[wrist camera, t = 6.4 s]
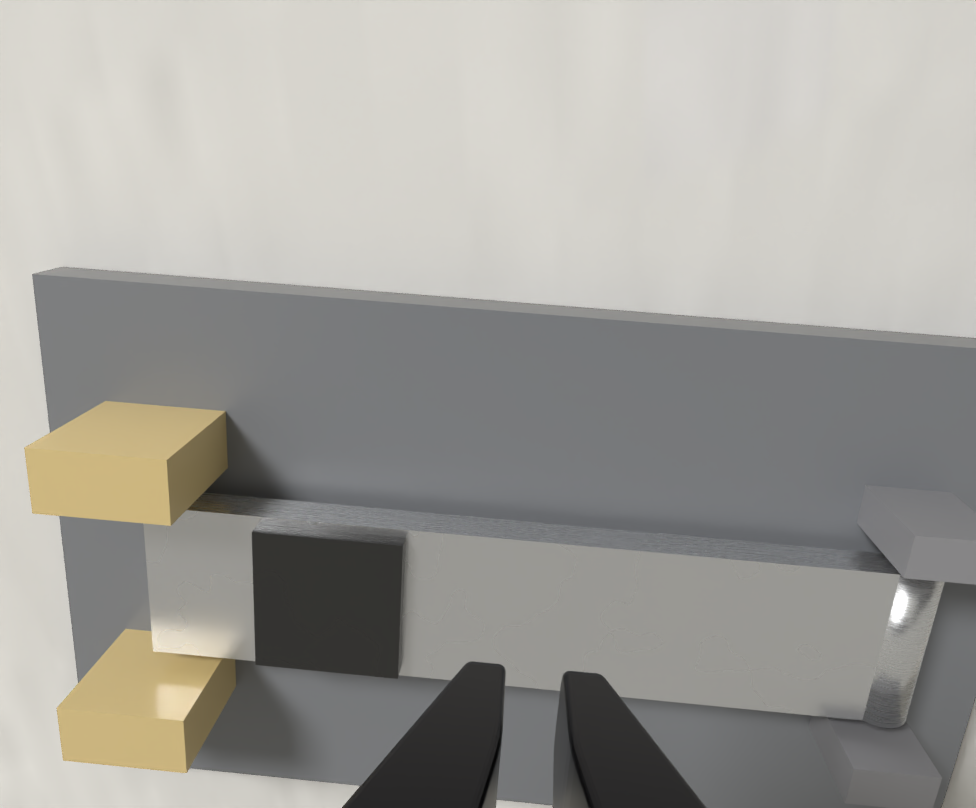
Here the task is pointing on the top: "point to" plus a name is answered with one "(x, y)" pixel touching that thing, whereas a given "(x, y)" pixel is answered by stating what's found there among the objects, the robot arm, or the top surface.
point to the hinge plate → (493, 502)
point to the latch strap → (540, 605)
